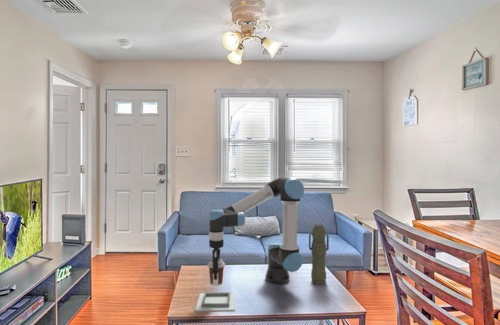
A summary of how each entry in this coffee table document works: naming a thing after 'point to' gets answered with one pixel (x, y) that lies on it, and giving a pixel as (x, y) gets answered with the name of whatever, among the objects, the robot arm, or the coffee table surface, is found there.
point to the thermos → (318, 254)
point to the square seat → (216, 302)
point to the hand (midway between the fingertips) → (216, 281)
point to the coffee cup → (220, 271)
